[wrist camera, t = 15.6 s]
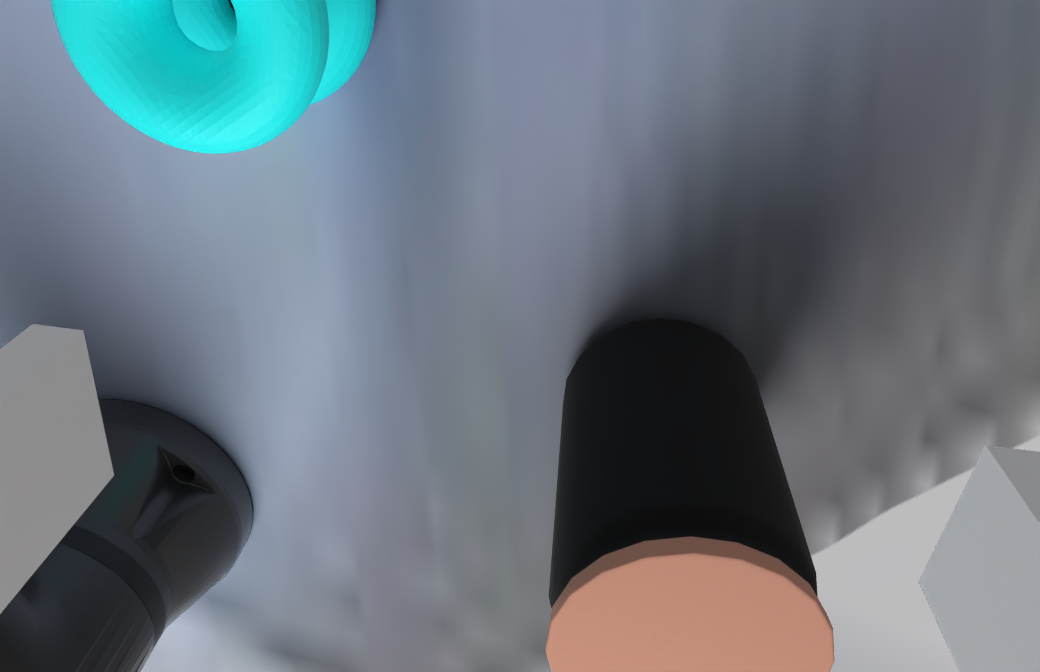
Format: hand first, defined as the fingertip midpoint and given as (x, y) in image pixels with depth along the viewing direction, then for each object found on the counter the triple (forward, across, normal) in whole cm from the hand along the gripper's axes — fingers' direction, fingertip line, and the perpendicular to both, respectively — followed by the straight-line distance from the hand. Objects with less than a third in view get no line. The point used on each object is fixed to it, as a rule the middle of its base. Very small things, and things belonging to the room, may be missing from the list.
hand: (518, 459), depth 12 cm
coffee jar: (+29, -7, +17) cm, 34 cm away
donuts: (+29, +14, -2) cm, 32 cm away
